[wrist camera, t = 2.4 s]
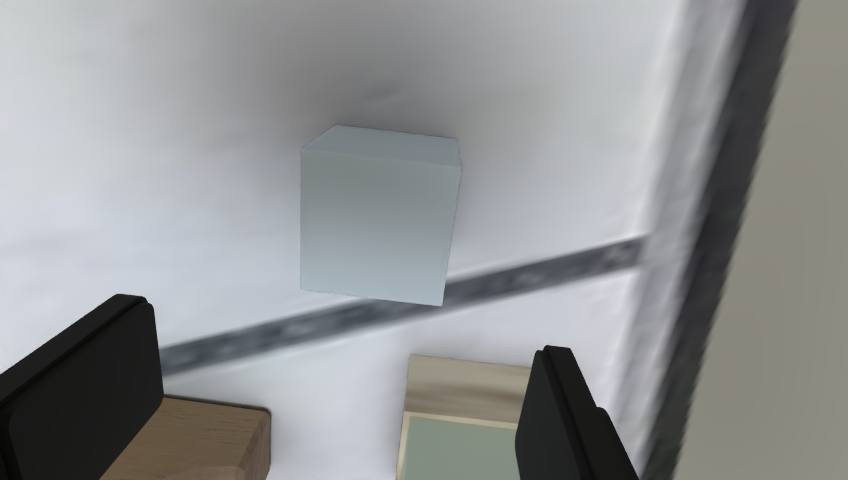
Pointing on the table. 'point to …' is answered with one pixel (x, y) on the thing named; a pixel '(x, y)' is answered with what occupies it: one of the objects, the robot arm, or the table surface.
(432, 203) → the grey-blue cube
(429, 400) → the lower tower block
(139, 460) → the decorative block
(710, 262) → the table surface
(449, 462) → the upper tower block
